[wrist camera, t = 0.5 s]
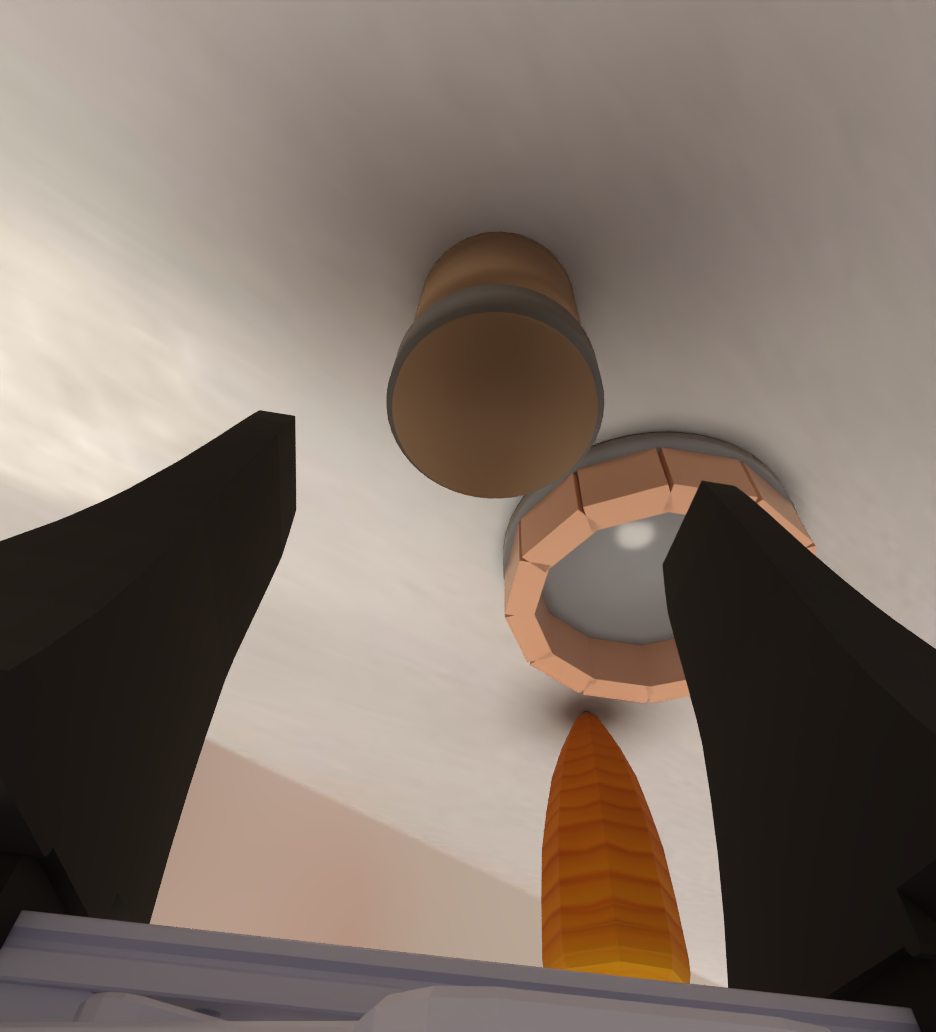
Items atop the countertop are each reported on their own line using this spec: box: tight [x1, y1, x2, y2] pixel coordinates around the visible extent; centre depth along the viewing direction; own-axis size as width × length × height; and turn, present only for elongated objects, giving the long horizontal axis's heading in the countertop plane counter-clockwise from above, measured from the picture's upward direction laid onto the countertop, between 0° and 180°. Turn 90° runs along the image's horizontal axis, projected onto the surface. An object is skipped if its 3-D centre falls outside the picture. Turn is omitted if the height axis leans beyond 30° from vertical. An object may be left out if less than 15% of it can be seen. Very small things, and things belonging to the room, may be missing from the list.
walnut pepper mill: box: [387, 232, 604, 498], centre depth 16 cm, size 5×5×6 cm
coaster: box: [503, 432, 816, 703], centre depth 23 cm, size 10×10×3 cm
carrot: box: [541, 712, 690, 984], centre depth 24 cm, size 5×5×15 cm
